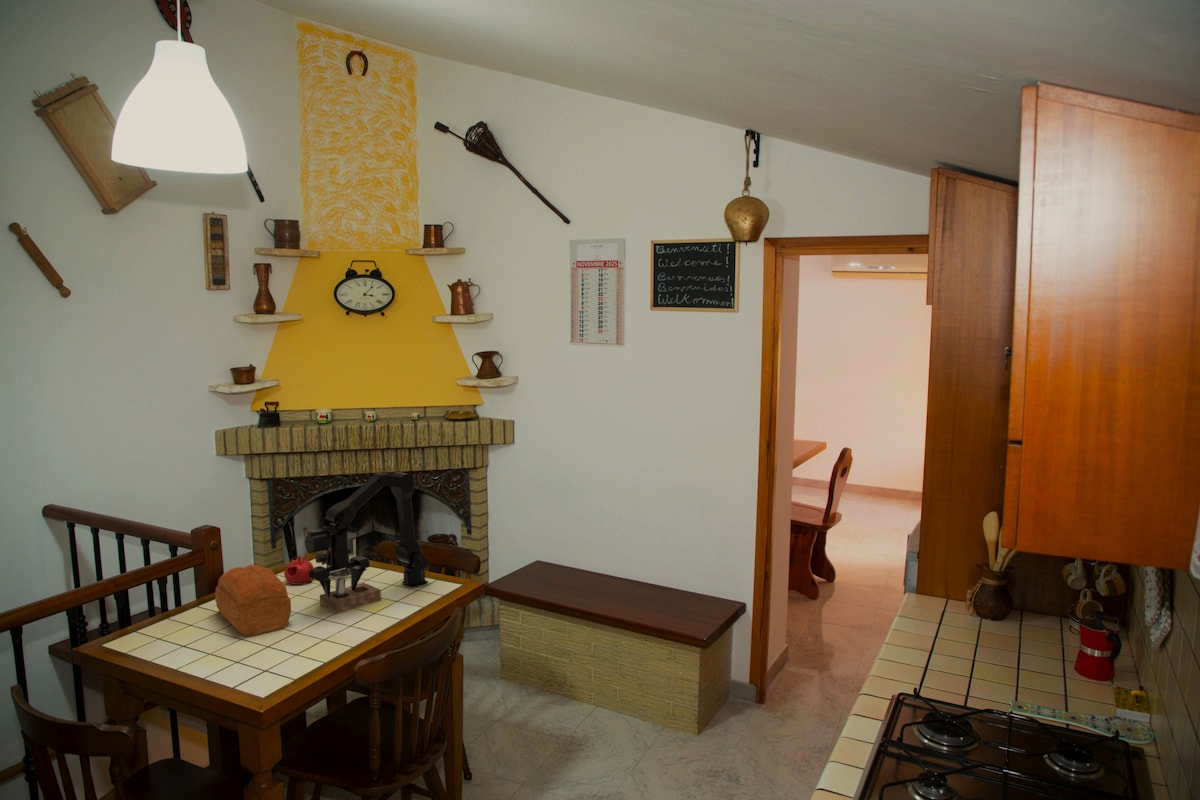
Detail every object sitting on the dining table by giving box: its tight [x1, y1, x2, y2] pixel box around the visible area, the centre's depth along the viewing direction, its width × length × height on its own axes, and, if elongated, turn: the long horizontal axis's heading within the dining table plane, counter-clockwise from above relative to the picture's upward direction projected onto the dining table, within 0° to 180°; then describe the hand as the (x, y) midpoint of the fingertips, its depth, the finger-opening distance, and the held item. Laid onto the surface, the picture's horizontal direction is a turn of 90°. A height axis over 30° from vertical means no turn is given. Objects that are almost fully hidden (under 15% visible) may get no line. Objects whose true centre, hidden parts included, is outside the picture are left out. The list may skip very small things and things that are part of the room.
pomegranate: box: [283, 555, 314, 585], centre depth 284 cm, size 10×10×9 cm
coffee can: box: [325, 531, 357, 579], centre depth 291 cm, size 10×10×14 cm
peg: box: [334, 577, 346, 599], centre depth 262 cm, size 3×3×9 cm
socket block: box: [319, 582, 382, 614], centre depth 265 cm, size 16×10×4 cm, turn 138°
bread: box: [214, 564, 292, 637], centre depth 250 cm, size 16×27×16 cm, turn 40°
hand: (340, 593), depth 262 cm, fingers open, 9 cm apart
